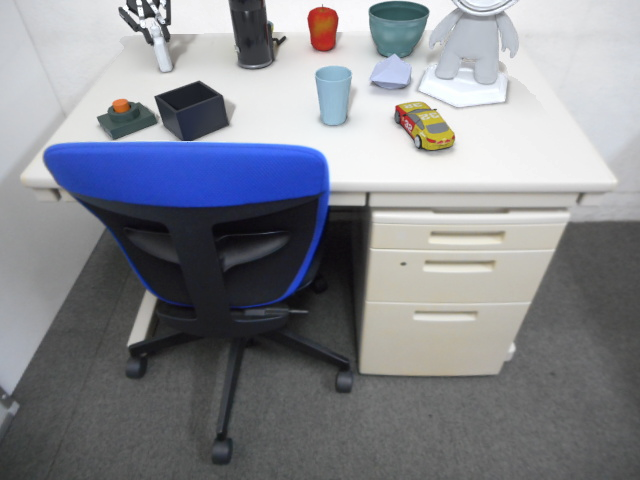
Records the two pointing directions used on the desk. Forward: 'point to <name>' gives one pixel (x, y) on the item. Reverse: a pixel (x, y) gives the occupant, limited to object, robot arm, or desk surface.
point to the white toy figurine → (471, 54)
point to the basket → (192, 110)
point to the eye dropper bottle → (160, 49)
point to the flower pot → (397, 26)
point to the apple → (323, 27)
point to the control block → (126, 120)
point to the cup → (333, 93)
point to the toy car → (424, 125)
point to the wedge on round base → (391, 73)
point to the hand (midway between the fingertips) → (160, 42)
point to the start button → (121, 105)
